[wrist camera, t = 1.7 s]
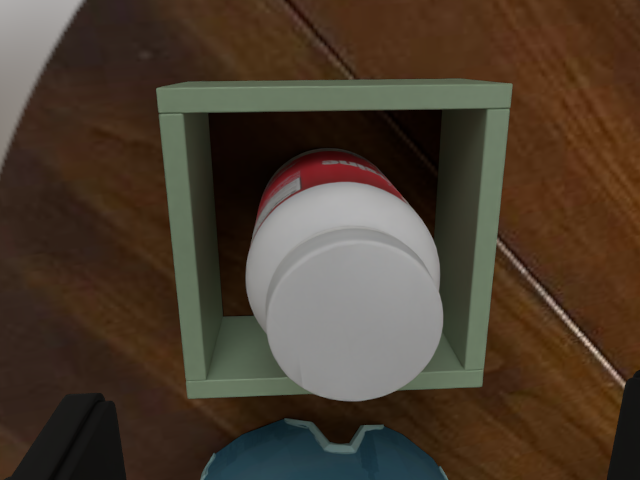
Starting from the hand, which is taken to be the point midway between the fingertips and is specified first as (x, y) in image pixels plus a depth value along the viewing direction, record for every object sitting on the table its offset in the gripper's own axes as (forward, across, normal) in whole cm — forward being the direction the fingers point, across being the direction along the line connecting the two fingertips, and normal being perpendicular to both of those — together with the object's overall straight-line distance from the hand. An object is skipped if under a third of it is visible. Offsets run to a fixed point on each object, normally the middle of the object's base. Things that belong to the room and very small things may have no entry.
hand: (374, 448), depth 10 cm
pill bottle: (+16, 0, 0) cm, 16 cm away
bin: (+16, 0, 0) cm, 16 cm away
